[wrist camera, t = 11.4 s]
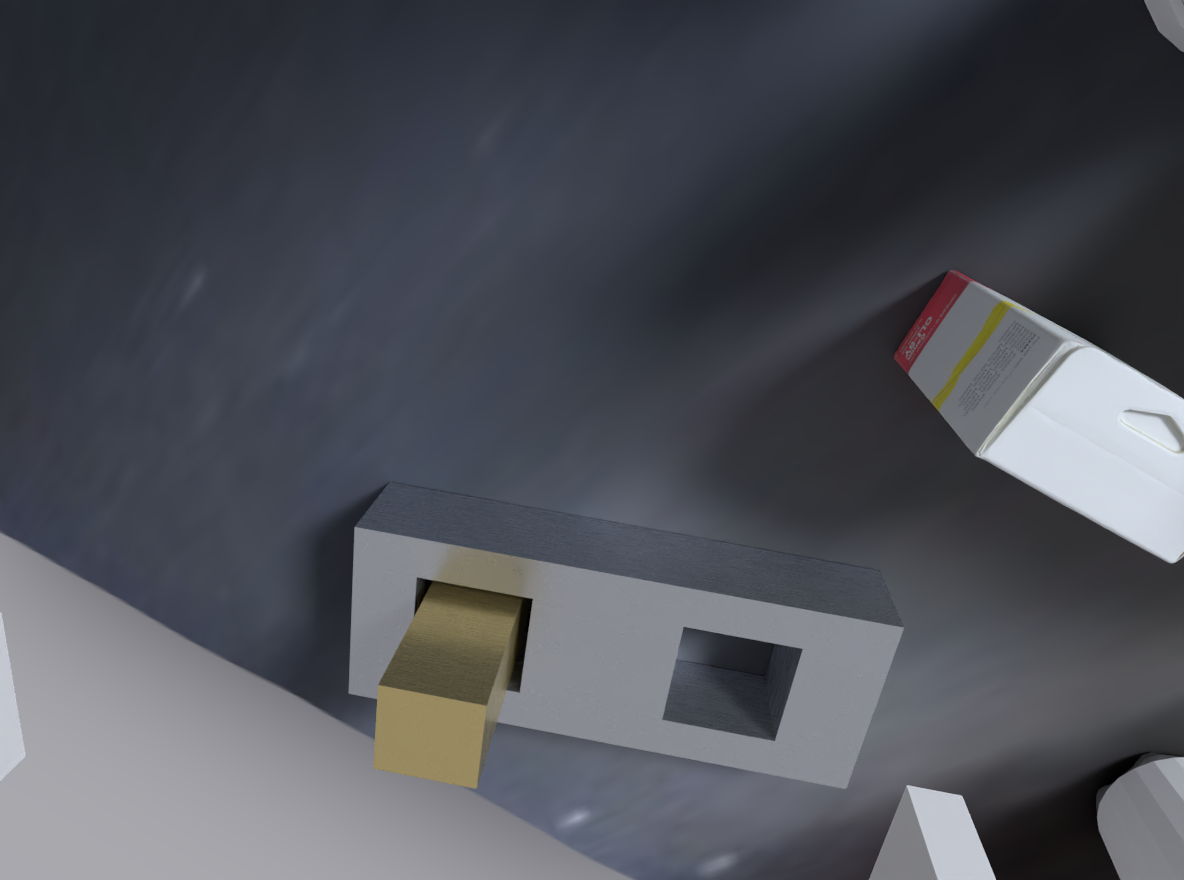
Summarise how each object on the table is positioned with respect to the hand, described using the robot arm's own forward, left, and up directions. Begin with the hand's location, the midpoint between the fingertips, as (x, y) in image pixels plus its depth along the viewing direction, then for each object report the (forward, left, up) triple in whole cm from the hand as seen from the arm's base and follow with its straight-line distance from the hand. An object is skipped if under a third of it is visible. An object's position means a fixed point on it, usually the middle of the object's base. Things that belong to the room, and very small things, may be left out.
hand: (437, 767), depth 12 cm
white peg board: (+16, +3, -29) cm, 33 cm away
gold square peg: (+16, -4, -29) cm, 33 cm away
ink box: (-1, +18, -29) cm, 34 cm away
